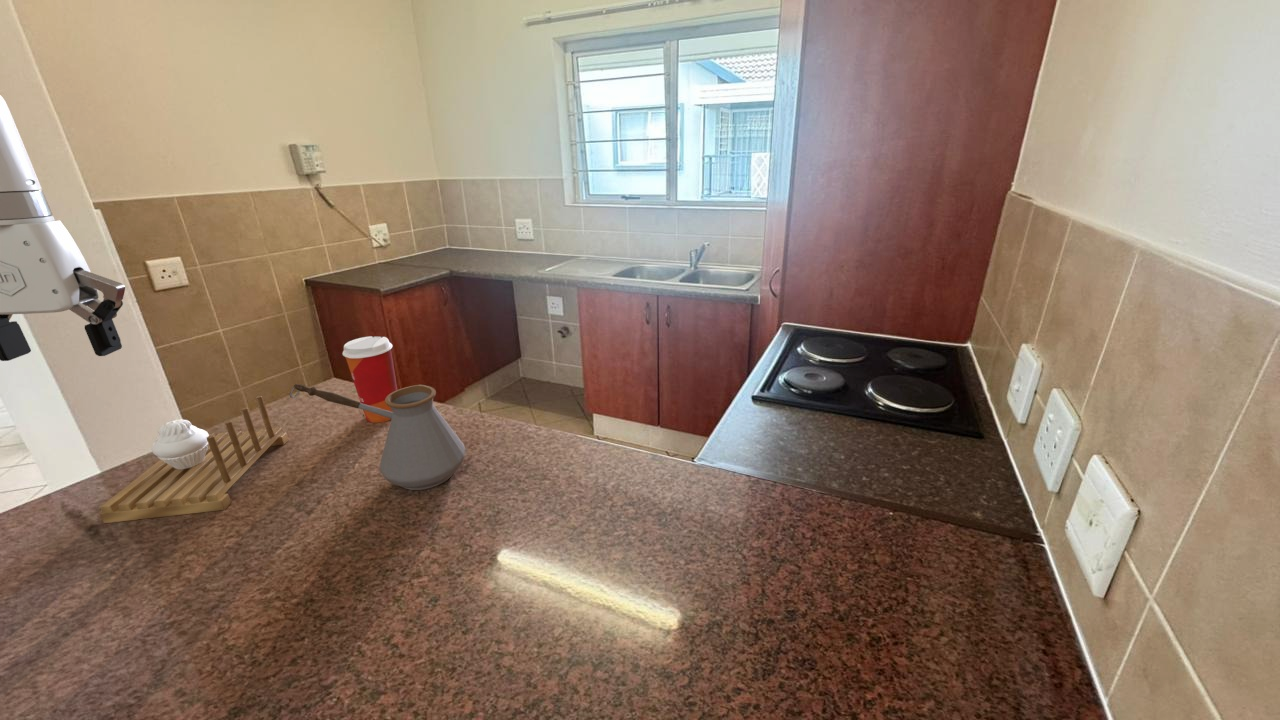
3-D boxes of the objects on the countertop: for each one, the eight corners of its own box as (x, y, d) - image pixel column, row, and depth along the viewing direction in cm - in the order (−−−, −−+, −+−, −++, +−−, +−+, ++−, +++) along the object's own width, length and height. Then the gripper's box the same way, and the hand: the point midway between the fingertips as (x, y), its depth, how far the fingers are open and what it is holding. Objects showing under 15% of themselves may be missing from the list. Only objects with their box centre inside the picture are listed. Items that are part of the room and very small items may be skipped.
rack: (103, 523, 64) (70, 460, 61) (194, 448, 81) (172, 396, 77) (224, 510, 66) (199, 448, 63) (288, 440, 83) (271, 388, 79)
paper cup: (377, 404, 94) (360, 334, 89) (414, 406, 93) (400, 335, 88) (349, 424, 87) (329, 349, 82) (389, 427, 86) (372, 351, 81)
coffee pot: (477, 451, 79) (462, 363, 73) (454, 497, 68) (435, 398, 62) (339, 455, 78) (314, 367, 72) (295, 503, 67) (261, 403, 62)
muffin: (213, 466, 71) (196, 423, 69) (157, 481, 68) (136, 436, 66) (219, 447, 76) (203, 406, 73) (166, 459, 73) (148, 417, 70)
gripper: (-143, 213, 50) (-56, 370, 56) (61, 211, 53) (122, 361, 59) (-60, 206, 57) (9, 348, 63) (116, 205, 60) (165, 340, 66)
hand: (64, 354), depth 61 cm, fingers open, 9 cm apart
